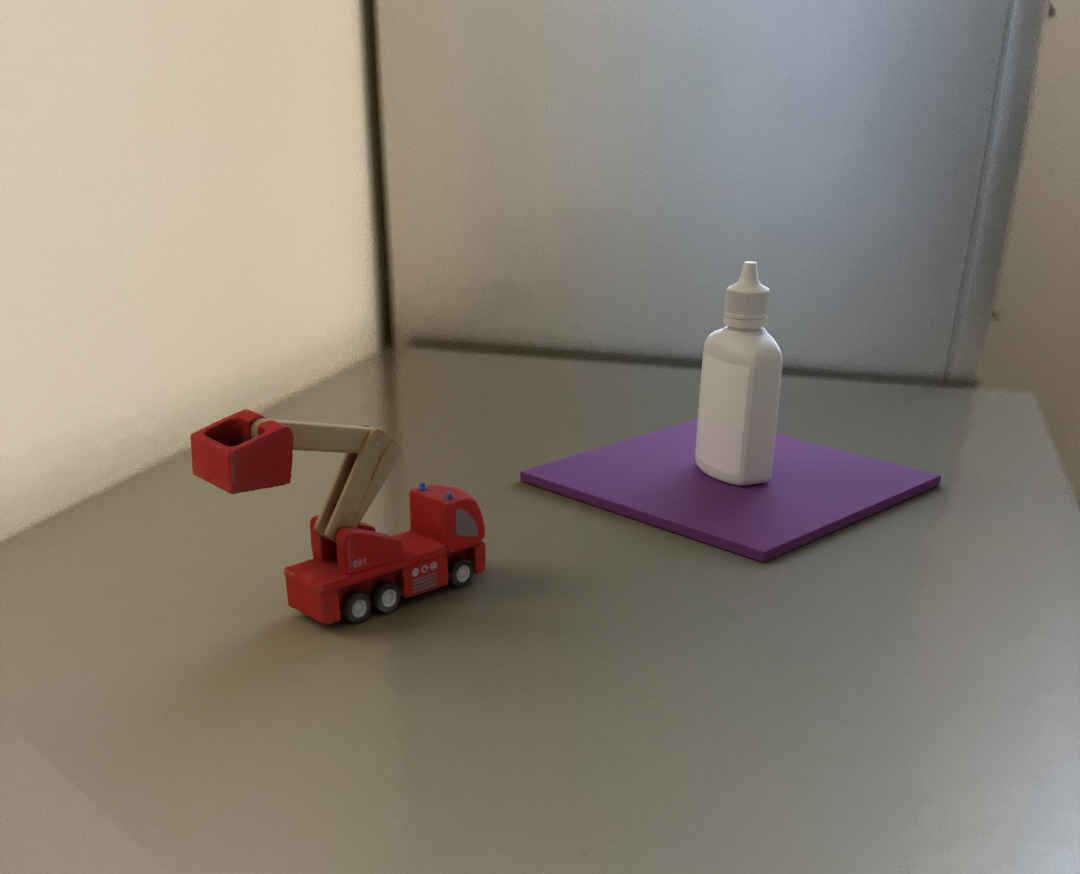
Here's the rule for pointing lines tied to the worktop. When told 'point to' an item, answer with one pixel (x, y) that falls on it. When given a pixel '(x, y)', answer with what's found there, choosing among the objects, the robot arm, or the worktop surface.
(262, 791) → the worktop surface
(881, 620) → the worktop surface
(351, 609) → the toy fire truck
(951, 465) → the worktop surface
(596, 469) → the purple square mat
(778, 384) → the eye dropper bottle
